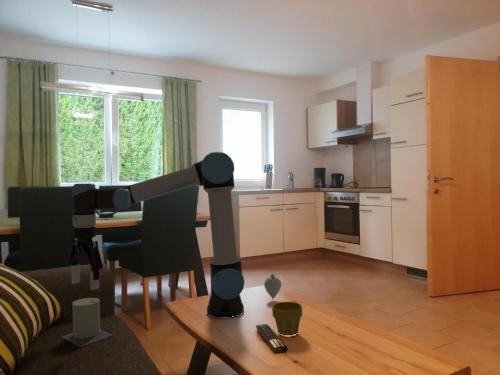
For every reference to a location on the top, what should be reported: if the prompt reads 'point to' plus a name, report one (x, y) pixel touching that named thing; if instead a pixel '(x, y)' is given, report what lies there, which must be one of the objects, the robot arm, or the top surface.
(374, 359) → the top surface
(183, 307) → the top surface
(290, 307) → the plant pot
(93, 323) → the can
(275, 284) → the spinning top
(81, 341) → the tile
